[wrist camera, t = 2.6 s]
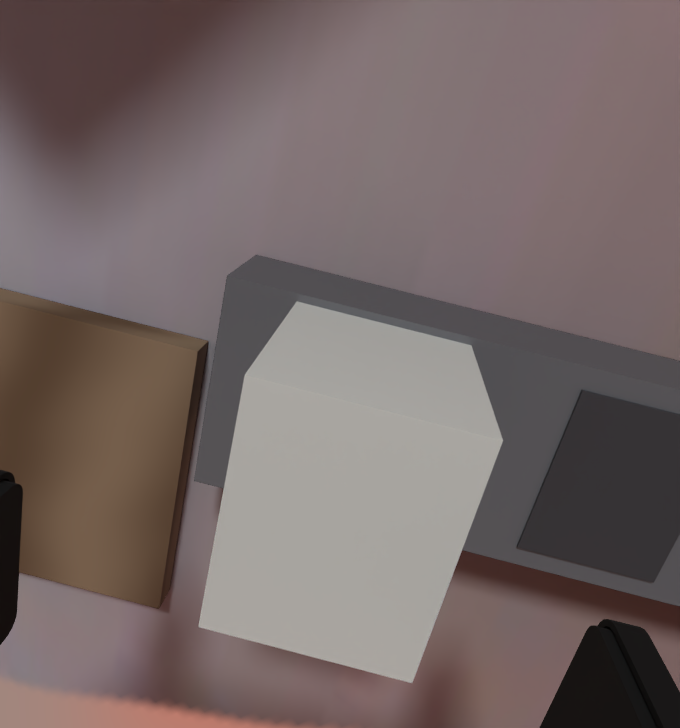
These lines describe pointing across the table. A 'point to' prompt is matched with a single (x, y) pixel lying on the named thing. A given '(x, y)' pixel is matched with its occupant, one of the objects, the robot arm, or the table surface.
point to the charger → (349, 490)
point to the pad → (97, 443)
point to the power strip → (507, 426)
